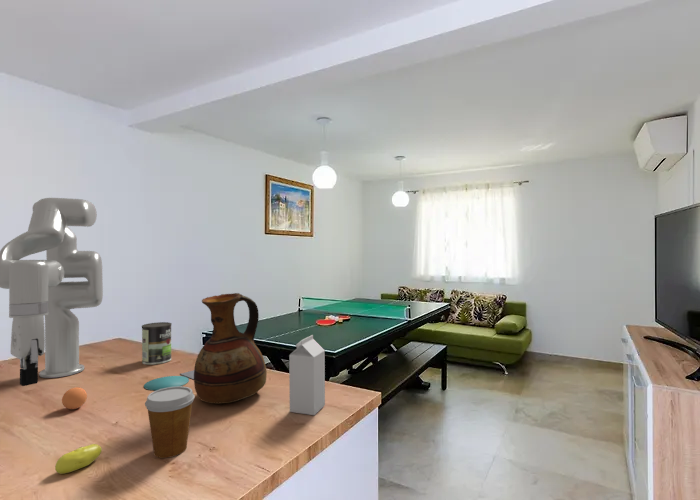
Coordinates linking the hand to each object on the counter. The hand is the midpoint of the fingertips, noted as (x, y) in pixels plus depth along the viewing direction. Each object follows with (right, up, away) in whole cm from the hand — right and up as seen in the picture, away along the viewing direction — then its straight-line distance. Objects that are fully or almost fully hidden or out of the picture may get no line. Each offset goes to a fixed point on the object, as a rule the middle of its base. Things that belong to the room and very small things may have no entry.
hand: (28, 384), depth 95 cm
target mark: (+21, -9, +28) cm, 36 cm away
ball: (+6, -7, +8) cm, 12 cm away
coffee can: (+5, -10, +53) cm, 54 cm away
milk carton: (+68, -9, +7) cm, 69 cm away
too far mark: (+29, -9, +37) cm, 48 cm away
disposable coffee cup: (+42, -9, -14) cm, 45 cm away
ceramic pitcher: (+45, -9, +16) cm, 49 cm away
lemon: (+27, -10, -20) cm, 35 cm away
